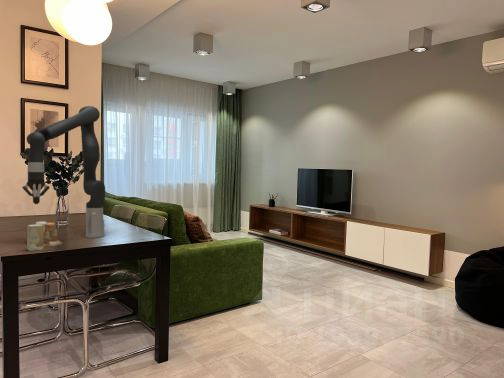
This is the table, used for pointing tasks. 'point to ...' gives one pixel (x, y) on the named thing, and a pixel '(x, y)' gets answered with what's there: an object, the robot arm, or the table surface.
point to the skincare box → (35, 237)
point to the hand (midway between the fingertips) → (36, 203)
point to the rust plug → (49, 226)
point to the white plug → (42, 224)
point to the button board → (50, 238)
